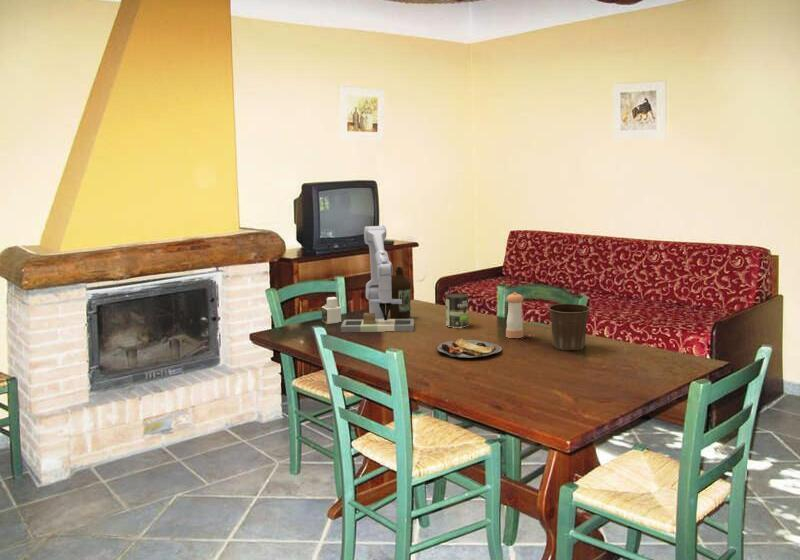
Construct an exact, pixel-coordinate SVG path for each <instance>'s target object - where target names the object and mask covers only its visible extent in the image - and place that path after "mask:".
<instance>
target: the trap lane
mask: <svg viewBox="0 0 800 560" xmlns="http://www.w3.org/2000/svg"><path fill="white" fill-rule="evenodd" d="M385 331H394V332H414V331H415V319H414V318H410V319H391V318H388V319H387V320H384V319H375V324H363V318H362V319H361V318H360V319H344V320H343V321H342V322H341V326H340V332H341V333H374V332H375V333H377V332H378V333H381V332H383V333H384V332H385Z"/></svg>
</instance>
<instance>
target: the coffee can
mask: <svg viewBox="0 0 800 560" xmlns="http://www.w3.org/2000/svg"><path fill="white" fill-rule="evenodd" d="M446 326H448V327H453V328H452V329H457V327H458V329H463V328H462V327H466V326H468V327H469V295H468V294H466V293H459V292H458V293H448V294H445V327H446ZM448 327H447V328H448ZM454 327H455V328H454ZM466 328H467V327H466Z"/></svg>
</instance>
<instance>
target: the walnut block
mask: <svg viewBox="0 0 800 560" xmlns="http://www.w3.org/2000/svg"><path fill="white" fill-rule="evenodd" d="M362 316H363V318H362V319H363V324H375V313H369V312H363V315H362Z"/></svg>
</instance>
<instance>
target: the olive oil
mask: <svg viewBox="0 0 800 560" xmlns="http://www.w3.org/2000/svg"><path fill="white" fill-rule="evenodd" d="M391 286H392V299H402V304H392V305H391V308H390V310H389V317H390V318H389V319H409V318H410V319H411V310H412V307H411V299H412V298H411V297H412V285H411V281H410V280H409V279H408V278H407V277H406V276H405V274H404V268H403V266H402V265H397V266H395V275H394V276H393V277H391Z"/></svg>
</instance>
